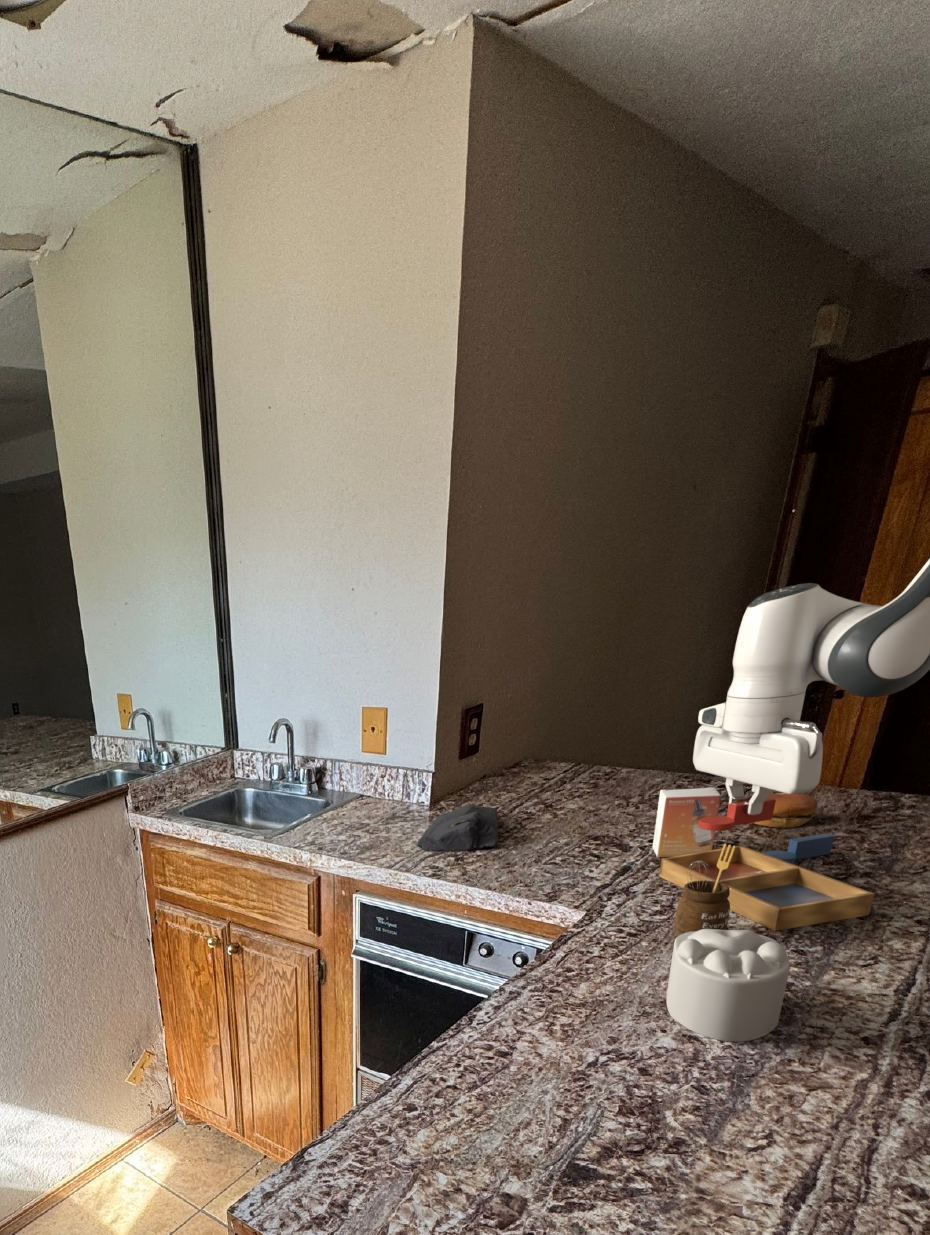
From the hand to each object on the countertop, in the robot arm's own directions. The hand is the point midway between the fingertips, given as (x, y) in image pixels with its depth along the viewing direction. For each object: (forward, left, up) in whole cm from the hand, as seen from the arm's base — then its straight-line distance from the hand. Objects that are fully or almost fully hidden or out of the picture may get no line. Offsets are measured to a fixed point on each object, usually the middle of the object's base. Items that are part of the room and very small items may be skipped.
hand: (744, 811), depth 115 cm
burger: (-25, -22, -11) cm, 35 cm away
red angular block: (+1, 0, -2) cm, 2 cm away
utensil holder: (+16, +15, -11) cm, 25 cm away
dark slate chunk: (+24, -44, -11) cm, 51 cm away
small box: (-2, -15, -11) cm, 19 cm away
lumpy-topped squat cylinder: (+27, +34, -11) cm, 45 cm away
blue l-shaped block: (-14, -5, -11) cm, 18 cm away
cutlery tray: (+1, +6, -11) cm, 12 cm away
